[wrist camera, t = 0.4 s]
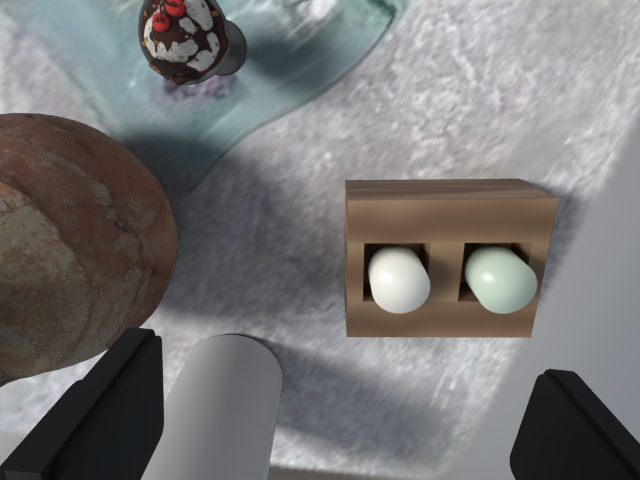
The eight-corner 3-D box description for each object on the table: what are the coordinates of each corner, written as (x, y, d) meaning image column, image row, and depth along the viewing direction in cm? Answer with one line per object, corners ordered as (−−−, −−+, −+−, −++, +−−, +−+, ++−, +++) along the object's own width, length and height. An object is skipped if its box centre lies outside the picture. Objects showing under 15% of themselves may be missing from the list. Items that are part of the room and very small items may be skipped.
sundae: (228, -9, 37) (165, -66, 23) (267, 61, 39) (231, 48, 25) (170, 31, 38) (77, 0, 24) (211, 97, 40) (146, 104, 26)
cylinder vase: (219, 313, 49) (116, 521, 26) (302, 366, 51) (278, 599, 28) (169, 379, 53) (40, 612, 29) (249, 425, 55) (188, 674, 32)
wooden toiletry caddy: (345, 180, 43) (347, 200, 35) (518, 178, 42) (558, 198, 35) (344, 297, 48) (346, 337, 40) (499, 297, 47) (530, 337, 40)
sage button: (466, 243, 37) (481, 261, 34) (521, 243, 37) (542, 261, 34) (460, 292, 39) (473, 313, 35) (512, 291, 39) (531, 313, 35)
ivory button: (368, 244, 38) (372, 261, 34) (422, 244, 38) (432, 261, 34) (367, 292, 40) (370, 313, 36) (418, 291, 39) (427, 313, 36)
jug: (171, 87, 40) (-207, 93, 12) (229, 280, 47) (80, 562, 19) (-27, 129, 42) (-746, 217, 14) (58, 308, 49) (-300, 599, 21)
